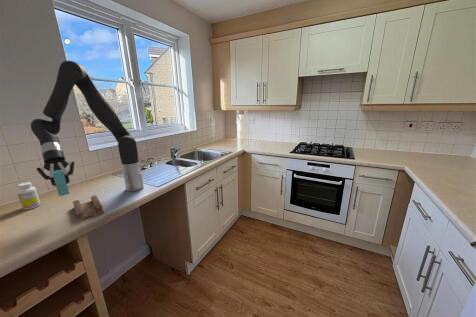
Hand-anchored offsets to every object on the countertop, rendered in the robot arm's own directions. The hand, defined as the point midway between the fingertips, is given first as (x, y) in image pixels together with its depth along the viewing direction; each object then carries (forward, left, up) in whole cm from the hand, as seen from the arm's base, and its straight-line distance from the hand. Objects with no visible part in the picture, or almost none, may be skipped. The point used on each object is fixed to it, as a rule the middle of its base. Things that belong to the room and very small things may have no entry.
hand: (61, 184), depth 90 cm
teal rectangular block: (0, -2, -5) cm, 6 cm away
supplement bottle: (+14, -25, -17) cm, 33 cm away
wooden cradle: (-7, 0, -16) cm, 18 cm away
